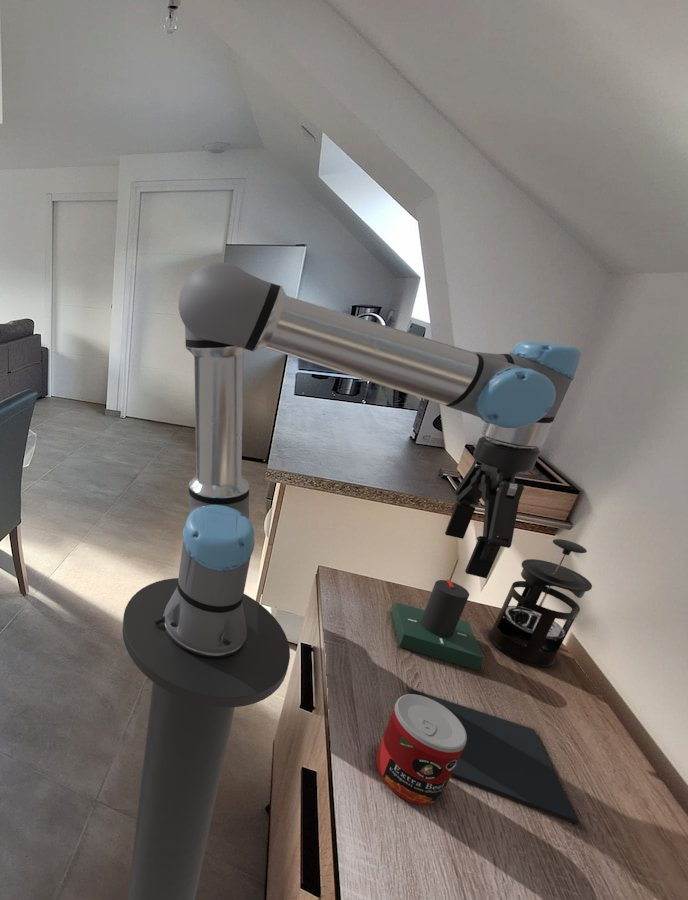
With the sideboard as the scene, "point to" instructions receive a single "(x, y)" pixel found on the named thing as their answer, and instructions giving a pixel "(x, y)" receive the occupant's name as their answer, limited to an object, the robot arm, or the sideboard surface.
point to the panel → (436, 638)
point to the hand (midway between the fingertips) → (463, 554)
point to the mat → (507, 761)
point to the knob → (444, 608)
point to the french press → (539, 610)
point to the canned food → (420, 749)
